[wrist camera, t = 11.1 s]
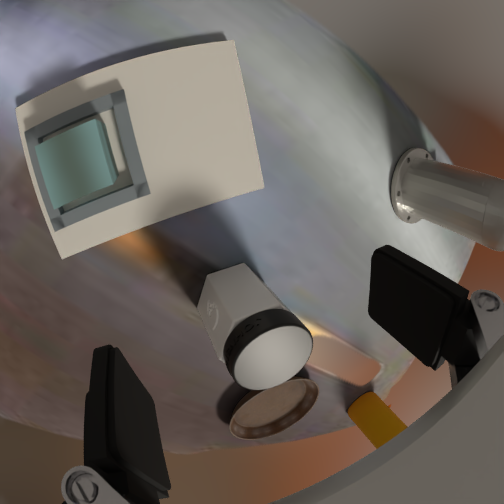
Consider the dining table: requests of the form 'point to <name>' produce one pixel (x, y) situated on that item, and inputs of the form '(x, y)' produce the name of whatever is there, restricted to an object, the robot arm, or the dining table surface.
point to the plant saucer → (273, 408)
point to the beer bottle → (375, 419)
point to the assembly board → (149, 140)
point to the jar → (252, 329)
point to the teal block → (77, 162)
